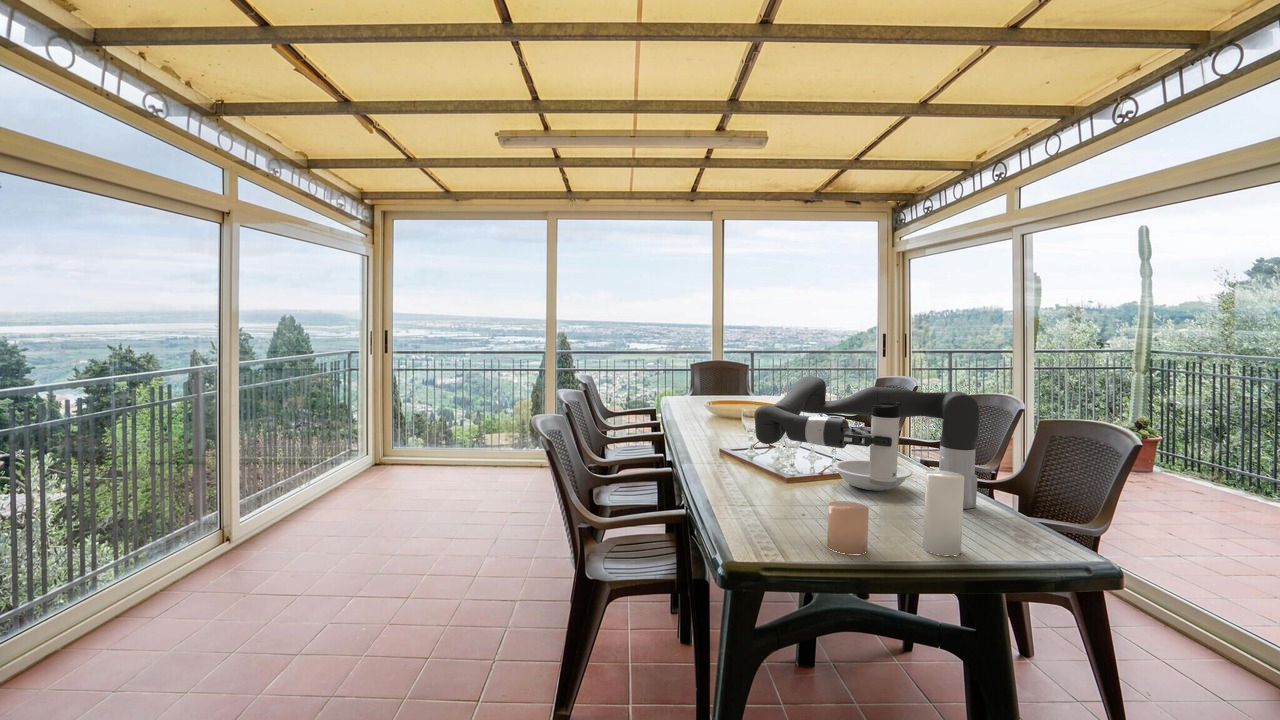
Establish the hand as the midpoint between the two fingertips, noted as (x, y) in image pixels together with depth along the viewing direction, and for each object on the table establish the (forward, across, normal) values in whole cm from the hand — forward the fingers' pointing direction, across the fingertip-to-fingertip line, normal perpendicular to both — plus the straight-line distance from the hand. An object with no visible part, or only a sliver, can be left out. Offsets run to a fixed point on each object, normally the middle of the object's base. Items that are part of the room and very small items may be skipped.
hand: (895, 440), depth 143 cm
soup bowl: (-17, +46, +25) cm, 55 cm away
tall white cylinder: (+11, +1, +25) cm, 27 cm away
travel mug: (-2, 0, +11) cm, 11 cm away
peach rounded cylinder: (-7, -12, +25) cm, 29 cm away
